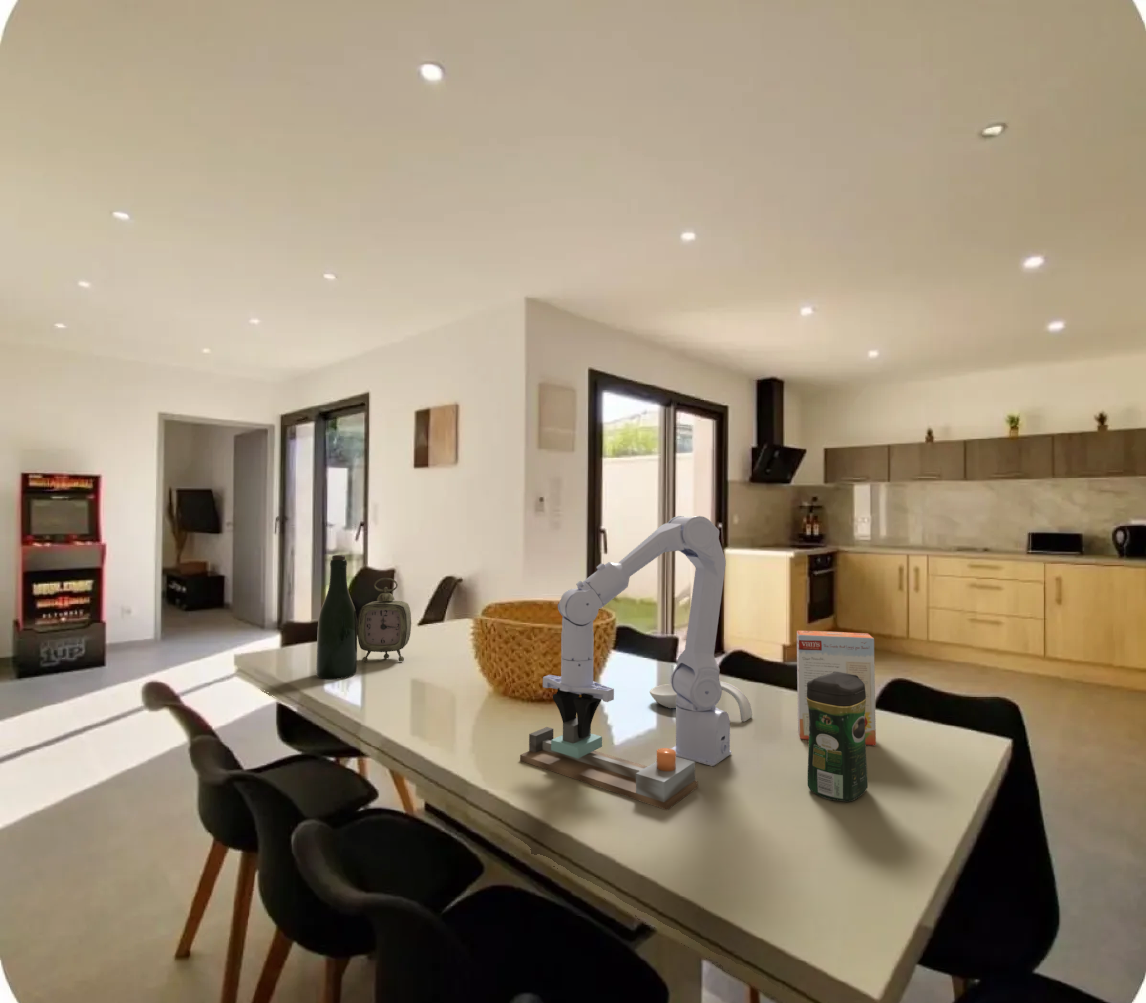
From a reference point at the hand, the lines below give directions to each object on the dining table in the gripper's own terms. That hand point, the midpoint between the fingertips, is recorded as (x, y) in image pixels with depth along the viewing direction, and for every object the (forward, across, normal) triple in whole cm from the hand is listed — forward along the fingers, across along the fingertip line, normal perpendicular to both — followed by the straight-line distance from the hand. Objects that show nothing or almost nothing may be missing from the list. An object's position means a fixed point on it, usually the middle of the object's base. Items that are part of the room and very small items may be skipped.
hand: (576, 734), depth 109 cm
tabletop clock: (+5, -94, +26) cm, 98 cm away
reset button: (+1, +18, 0) cm, 18 cm away
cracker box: (+5, +32, +43) cm, 54 cm away
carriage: (+2, 0, 0) cm, 2 cm away
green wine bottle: (+5, -89, +7) cm, 89 cm away
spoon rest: (+6, +2, +43) cm, 43 cm away
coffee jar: (+5, +39, +18) cm, 43 cm away
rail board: (+5, +6, 0) cm, 8 cm away
